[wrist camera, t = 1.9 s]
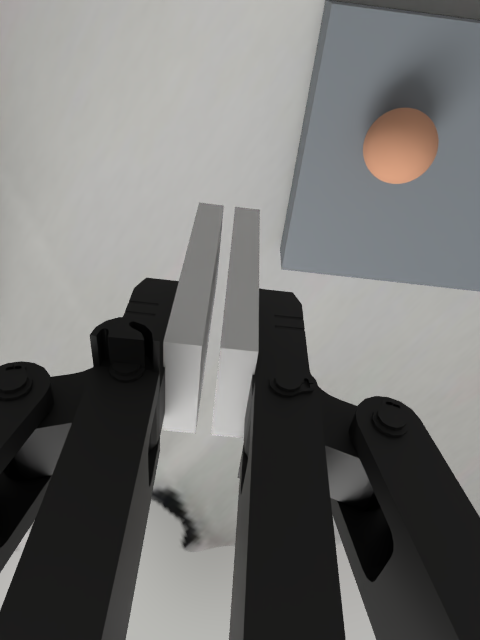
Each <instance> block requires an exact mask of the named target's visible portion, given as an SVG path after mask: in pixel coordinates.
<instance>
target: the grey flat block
mask: <svg viewBox="0 0 480 640" xmlns="http://www.w3.org/2000/svg"><path fill="white" fill-rule="evenodd" d="M397 108H413V109H417V110H419V111H421V112H423V113H425V114H426V115H427V116H428V117H429V118H430V119H431V120H432V121H433V123H434V125H435V127H436V129H437V133H438V139H439V143H438V150H437V154H436V157H435V159H434V161H433V163H432V164H431V166H430V167H429V168H428V169H427V170H426V172H424V173H423V174H422V175H421V176H419V177H418V178H416V179H414V180H412V181H410V182H407V183H402V184H391V183H386V182H383V181H381V180H379V179H378V178H376V177H375V176H374V175H373V174H372V173H371V172H370V171H369V169H368V168H367V166H366V163H365V161H364V156H363V144H364V139H365V136H366V134H367V132H368V130H369V128H370V127H371V125H372V124H373V123H374V122H375V121H376V120H377V119H378V118H379V117H380V116H381V115H383V114H385V113H386V112H388V111H391V110H393V109H397ZM280 253H281V269H283V270H292V271H301V272H310V273H319V274H328V275H337V276H346V277H355V278H364V279H373V280H382V281H391V282H400V283H409V284H418V285H427V286H436V287H445V288H454V289H463V290H472V291H480V20H474V19H467V18H459V17H452V16H444V15H436V14H429V13H421V12H414V11H406V10H399V9H391V8H384V7H376V6H369V5H361V4H354V3H346V2H339V1H331V0H326V1H325V6H324V12H323V17H322V23H321V28H320V34H319V39H318V45H317V50H316V56H315V61H314V67H313V72H312V78H311V83H310V88H309V94H308V99H307V105H306V110H305V116H304V121H303V127H302V132H301V138H300V143H299V149H298V154H297V160H296V165H295V171H294V176H293V182H292V187H291V193H290V198H289V204H288V209H287V214H286V220H285V225H284V231H283V236H282V242H281V247H280Z"/></svg>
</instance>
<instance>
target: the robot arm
mask: <svg viewBox="0 0 480 640" xmlns="http://www.w3.org/2000/svg"><path fill="white" fill-rule="evenodd" d="M223 207H224V206H223V205H214V204H206V203H199V206H198V209H197V213H196V217H195V221H194V225H193V229H192V233H191V237H190V240H189V244H188V248H187V252H186V256H185V260H184V264H183V268H182V271H181V275H180V279H179V281H171V280H162V279H153V278H146V279H144V280H143V281H142V282H141V283H140V284H138V285H137V286H136V287H135V288H134V290H133V293H132V295H131V298H130V300H129V303H128V305H127V308H126V310H125V313H124V316H123V317H118V318H115V319H111V320H108V321H105V322H103V323H102V324H100V325H98V326H97V327H96V328H95V329H94V330H93V332H92V333H91V334H90V341H91V349H92V357H93V365H94V367H93V368H91V369H88V370H86V371H83V372H79V373H75V374H69V375H61V376H54V377H50V375H49V374H48V372H47V371H46V370H45V368H43V367H41V366H39V365H37V364H35V363H30V362H22V361H21V362H14V363H7V364H4V365H2V366H0V572H1V570H2V569H3V568H4V566H5V564H6V563H7V561H8V560H9V558H10V557H11V555H12V554H13V552H14V551H15V549H16V548H17V546H18V545H19V543H20V542H21V540H22V538H23V537H24V535H25V534H26V532H27V531H28V529H29V528H30V526H31V525H32V523H33V522H34V524H33V526H32V529H31V532H30V534H29V537H28V540H27V542H26V545H25V547H24V550H23V553H22V556H21V558H20V561H19V563H18V566H17V568H16V571H15V574H14V576H13V579H12V581H11V584H10V587H9V589H8V592H7V595H6V597H5V600H4V602H3V605H2V608H1V610H0V640H125V639H126V634H127V628H128V623H129V617H130V612H131V606H132V601H133V595H134V590H135V584H136V579H137V573H138V568H139V562H140V557H141V551H142V546H143V540H144V535H145V529H146V524H147V518H148V513H149V507H150V502H151V496H152V491H153V485H154V480H155V474H156V469H157V463H158V458H159V452H160V433H161V429H162V424H163V430H166V431H176V432H187V433H196V426H197V419H198V412H199V405H200V398H201V391H202V383H203V376H204V369H205V362H206V355H207V348H208V340H209V333H210V326H211V319H212V312H213V305H214V298H215V290H216V283H217V274H218V263H219V252H220V241H221V230H222V219H223ZM259 224H260V210H258V209H249V208H240V207H235V214H234V224H233V233H232V243H231V252H230V261H229V271H228V280H227V289H226V299H225V308H224V317H223V327H222V336H221V345H220V355H219V364H218V374H217V383H216V392H215V402H214V411H213V420H212V430H211V435H217V436H228V437H238V438H243V437H244V445H243V451H242V456H241V462H240V467H239V473H238V478H240V483H239V498H238V513H237V528H236V543H235V559H234V574H233V588H232V603H231V619H230V633H229V640H345V631H344V621H343V612H342V603H341V593H340V583H339V574H338V564H337V555H336V545H335V536H334V526H333V517H334V520H335V523H336V526H337V529H338V532H339V534H340V537H341V540H342V543H343V546H344V548H345V552H346V554H347V557H348V560H349V563H350V566H351V569H352V571H353V574H354V577H355V580H356V583H357V585H358V589H359V591H360V594H361V597H362V600H363V603H364V606H365V609H366V611H367V614H368V617H369V620H370V623H371V625H372V628H373V631H374V634H375V637H376V640H480V517H479V515H478V514H477V512H476V511H475V509H474V507H473V506H472V504H471V502H470V501H469V499H468V497H467V496H466V494H465V492H464V491H463V489H462V487H461V486H460V484H459V482H458V481H457V479H456V478H455V476H454V474H453V473H452V471H451V469H450V468H449V466H448V464H447V463H446V461H445V459H444V458H443V456H442V454H441V453H440V451H439V449H438V448H437V446H436V445H435V443H434V441H433V440H432V438H431V436H430V435H429V433H428V431H427V430H426V428H425V426H424V425H423V423H422V421H421V420H420V418H419V417H418V416H417V415H416V414H415V413H414V411H413V410H412V409H410V408H409V407H408V406H406V405H405V404H403V403H402V402H400V401H397V400H394V399H392V398H389V397H380V396H375V397H371V398H367V399H365V400H363V401H362V402H361V403H360V404H359V405H358V406H355V405H353V404H350V403H347V402H344V401H342V400H339V399H337V398H335V397H332V396H330V395H329V394H327V393H326V392H324V391H323V390H321V389H320V388H319V387H318V385H317V382H316V380H315V379H314V377H313V376H312V375H311V374H310V370H309V362H308V354H307V345H306V337H305V331H304V329H305V328H304V320H303V311H302V304H301V303H300V302H299V300H298V299H297V298H296V296H295V295H294V294H293V292H284V291H275V290H265V289H259ZM332 515H333V517H332ZM34 520H35V521H34Z"/></svg>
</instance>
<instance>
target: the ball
mask: <svg viewBox="0 0 480 640" xmlns="http://www.w3.org/2000/svg"><path fill="white" fill-rule="evenodd" d="M438 143H439V139H438V133H437V129H436V127H435V125H434V123H433V121H432V120H431V119H430V118H429V117H428V116H427V115H426V114H425V113H423V112H421V111H419V110H417V109H413V108H397V109H393V110H391V111H388V112H386V113H385V114H383V115H381V116H380V117H379V118H378V119H377V120H376V121H375V122H374V123H373V124H372V125H371V127H370V128H369V130H368V132H367V134H366V136H365V139H364V144H363V156H364V161H365V163H366V166H367V168H368V169H369V171H370V172H371V173H372V174H373V175H374V176H375V177H376V178H378V179H379V180H381V181H383V182H386V183H391V184H402V183H407V182H410V181H412V180H414V179H416V178H418V177H419V176H421V175H422V174H423V173H424V172H426V170H427V169H428V168H429V167H430V166H431V164H432V163H433V161H434V159H435V157H436V154H437V150H438Z"/></svg>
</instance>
